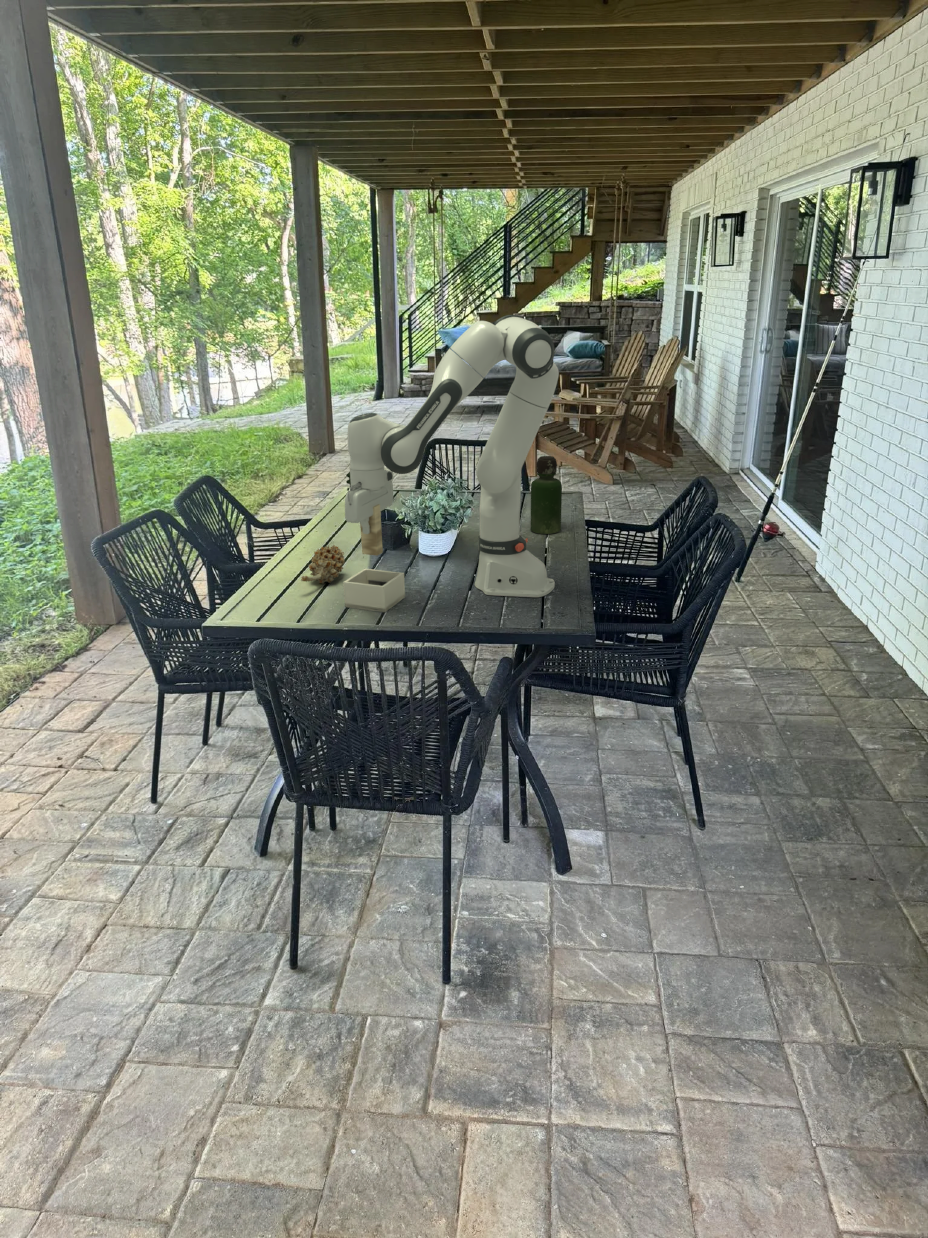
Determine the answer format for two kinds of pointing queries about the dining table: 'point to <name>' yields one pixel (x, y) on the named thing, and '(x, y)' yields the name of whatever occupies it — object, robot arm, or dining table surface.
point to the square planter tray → (374, 590)
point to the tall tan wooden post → (373, 534)
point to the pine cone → (326, 564)
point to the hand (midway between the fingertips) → (371, 530)
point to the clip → (376, 582)
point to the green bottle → (546, 498)
